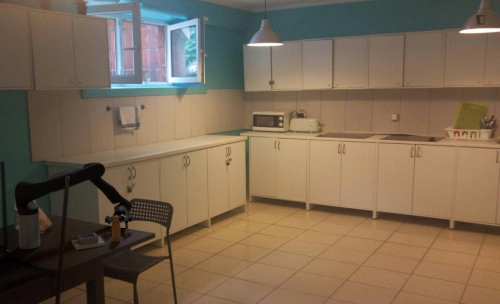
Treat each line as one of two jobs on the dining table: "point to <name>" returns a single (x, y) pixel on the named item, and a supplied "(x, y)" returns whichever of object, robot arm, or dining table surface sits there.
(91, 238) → the hollow square frame plate
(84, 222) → the dining table surface
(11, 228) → the dining table surface
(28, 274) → the dining table surface
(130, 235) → the dining table surface
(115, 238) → the stepped amber cylinder
